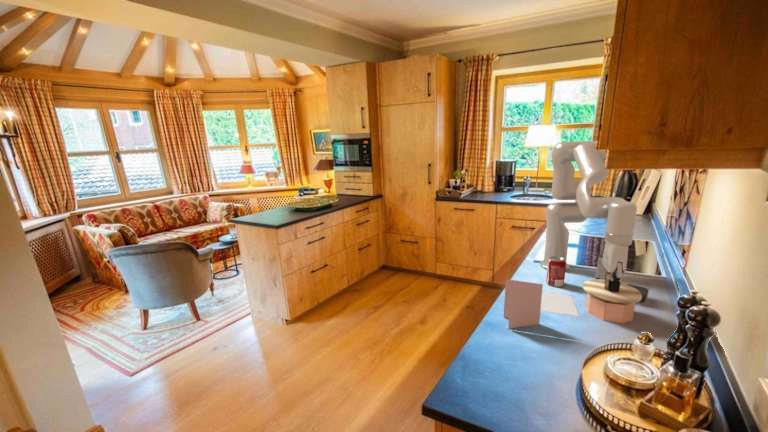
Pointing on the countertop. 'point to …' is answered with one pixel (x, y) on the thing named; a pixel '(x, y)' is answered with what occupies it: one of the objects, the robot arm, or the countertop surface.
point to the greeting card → (522, 303)
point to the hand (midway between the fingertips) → (611, 287)
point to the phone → (641, 289)
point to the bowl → (609, 310)
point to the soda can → (556, 271)
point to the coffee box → (600, 268)
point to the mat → (558, 304)
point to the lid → (601, 291)
